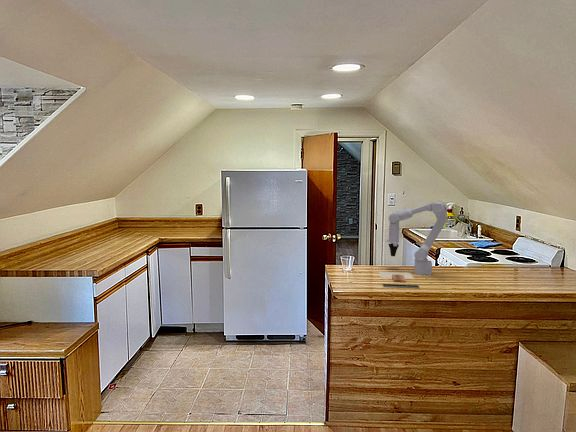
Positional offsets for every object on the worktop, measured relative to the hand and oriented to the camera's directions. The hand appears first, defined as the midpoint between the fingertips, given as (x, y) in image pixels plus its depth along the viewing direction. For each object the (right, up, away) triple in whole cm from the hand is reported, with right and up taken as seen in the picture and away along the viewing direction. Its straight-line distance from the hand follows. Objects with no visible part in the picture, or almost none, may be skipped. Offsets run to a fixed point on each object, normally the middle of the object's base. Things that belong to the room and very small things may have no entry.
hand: (393, 256), depth 247 cm
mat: (-3, -12, -24) cm, 28 cm away
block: (-2, -11, -21) cm, 24 cm away
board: (-1, -11, -11) cm, 16 cm away
